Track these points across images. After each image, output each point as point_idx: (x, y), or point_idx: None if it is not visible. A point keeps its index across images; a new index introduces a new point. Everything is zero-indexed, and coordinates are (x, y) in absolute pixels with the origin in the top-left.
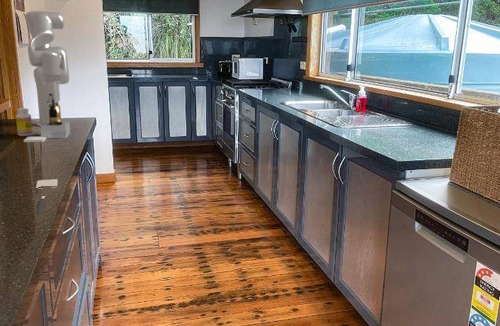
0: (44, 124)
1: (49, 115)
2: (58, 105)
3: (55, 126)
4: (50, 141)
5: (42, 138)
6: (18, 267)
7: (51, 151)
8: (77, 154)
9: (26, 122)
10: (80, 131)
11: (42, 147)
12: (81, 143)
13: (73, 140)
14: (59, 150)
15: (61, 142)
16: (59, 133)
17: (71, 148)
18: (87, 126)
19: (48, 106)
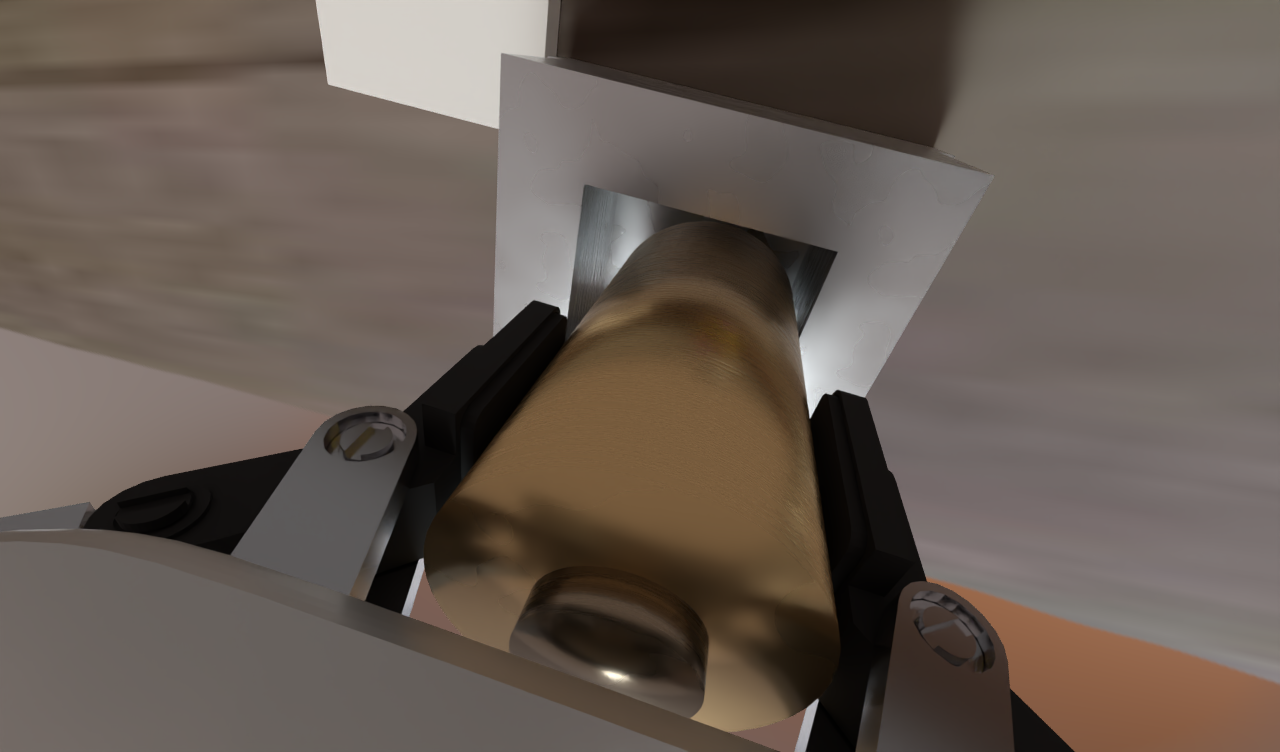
0: (641, 138)
1: (602, 313)
2: (715, 724)
3: (498, 306)
4: (386, 177)
5: (411, 81)
6: None
7: (9, 171)
8: (19, 330)
9: None
10: None
11: (106, 87)
12: (325, 409)
13: (435, 380)
14: (65, 235)
15: (347, 279)
16: None
17: (154, 322)
18: (1194, 630)
19: (517, 468)
